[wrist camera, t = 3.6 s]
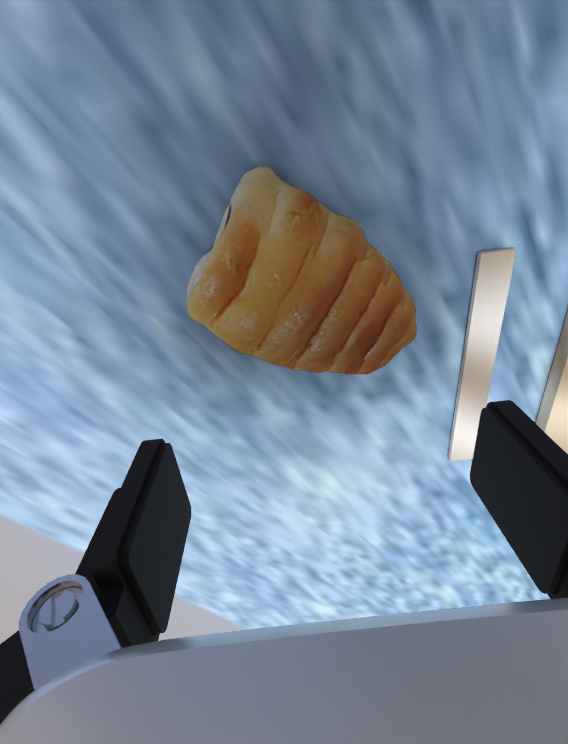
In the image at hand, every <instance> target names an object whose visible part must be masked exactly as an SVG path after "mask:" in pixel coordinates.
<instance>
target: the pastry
mask: <svg viewBox="0 0 568 744" xmlns="http://www.w3.org/2000/svg"><path fill="white" fill-rule="evenodd" d="M186 296H187V312H188V316H189V317H190V318H191V319H192V320H194V321H196V322H198V323H201V324H202V325H204V326H205V327H207V328H208V329H209V330H211V332H212V333H213V334H214V335H215V336H217V337H219V338H220V339H222V340H223V341H224V342H225V343H227V344H228V345H229V346H230V347H232V348H233V349H235V350H236V351H237V352H240V353H244V354H247V355H251V356H254V357H258V358H260V359H262V360H264V361H266V362H268V363H271V364H274V365H277V366H284V367H288V368H290V369H293V370H308V371H311V372H316V373H321V372H325V371H327V372H338V373H344V374H369V373H371V372H374V371H376V370H378V369H379V368H381V367H383V366H385V365H386V364H387V363H388V362H389V361H390V360H391V359H392V358H393V357H394V356H396V354H397V353H398V352H399V351H400V350H401V349H402V348H403V347H405V346H407V345H408V344H409V343H411V342H412V341H413V339H414V338H415V336H416V322H415V311H416V310H415V305H414V301H413V299H412V297H411V295H410V294H409V293H408V292H407V290H406V289H405V287H404V286H403V285H402V284H401V280H400V278H399V276H398V275H397V274H396V273H395V272H394V271H393V268H392V266H391V264H390V263H389V262H388V261H387V260H386V259H385V258H384V257H383V256H382V255H381V254H380V253H379V252H378V251H377V250H376V249H374V248H373V247H372V246H370V245H369V243H368V242H367V241H366V239H365V237H364V235H363V233H362V230H361V228H360V227H359V225H358V223H357V222H356V221H354V220H353V219H350V218H348V217H346V216H340V215H336V214H335V213H333V212H332V211H330V210H329V209H328V208H326V207H325V206H324V205H322V204H320V203H318V202H317V200H316V199H315V198H314V197H312V196H311V195H310V194H308V193H307V192H305V191H303V190H301V189H300V188H297V187H293V186H291V185H289V184H288V183H286V182H284V181H282V180H280V179H279V178H278V176H277V175H276V174H275V173H274V172H273V170H271V169H270V168H268V167H256V168H254V169H252V170H250V171H248V172H246V173H245V174H244V175H243V177H242V178H241V180H240V182H239V184H238V186H237V187H236V189H235V191H234V193H233V195H232V197H231V200H230V204H229V205H228V207H227V209H226V211H225V213H224V215H223V218H222V221H221V225H220V227H219V229H218V231H217V235H216V238H215V241H214V245H213V248H212V249H211V250H210V251H209V252H208V253H207V254H205V255H204V256H203V257H202V258H201V259H200V260H199V261H198V263H197V264H196V265H195V268H194V271H193V274H192V276H191V278H190V279H189V282H188V286H187V290H186Z"/></svg>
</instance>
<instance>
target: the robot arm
mask: <svg viewBox="0 0 568 744" xmlns="http://www.w3.org/2000/svg"><path fill="white" fill-rule="evenodd" d="M470 480H471V484H472V486H473V488H474V489H475V491H476V493H477V494H478V496H479V497H480V499H481V500H482V502H483V503H484V505H485V507H486V508H487V510H488V511H489V513H490V514H491V516H492V517H493V519H494V521H495V522H496V524H497V525H498V527H499V528H500V530H501V532H502V533H503V535H504V536H505V538H506V539H507V541H508V542H509V544H510V546H511V547H512V549H513V550H514V552H515V553H516V555H517V556H518V558H519V560H520V561H521V563H522V564H523V566H524V567H525V569H526V570H527V572H528V574H529V575H530V577H531V578H532V580H533V581H534V583H535V585H536V586H537V587H538V589H539V590H540V591H541V592H542V593H544V594H545V593H547V594H548V596H549V597H550V599H548V600H535V601H525V602H514V603H504V604H494V605H483V606H473V607H463V608H452V609H442V610H432V611H422V612H412V613H403V614H393V615H383V616H373V617H364V618H354V619H344V620H335V621H325V622H315V623H306V624H297V625H288V626H279V627H269V628H260V629H251V630H242V631H232V632H224V633H216V634H208V635H200V636H193V637H184V638H176V639H168V640H162V641H158V639H159V634H160V633H164V632H165V631H166V629H167V625H168V621H169V616H170V612H171V607H172V602H173V598H174V593H175V588H176V584H177V579H178V575H179V570H180V565H181V561H182V556H183V551H184V547H185V542H186V537H187V533H188V528H189V524H190V519H191V505H190V502H189V499H188V496H187V493H186V489H185V486H184V483H183V480H182V477H181V474H180V471H179V468H178V465H177V461H176V458H175V455H174V452H173V449H172V446H171V444H170V443H165V441H164V440H163V439H156V440H147V441H143V442H142V443H141V445H140V447H139V449H138V451H137V453H136V456H135V458H134V460H133V462H132V465H131V467H130V469H129V471H128V473H127V476H126V478H125V480H124V482H123V484H122V487H121V488H118V489H116V490H115V491H114V493H113V495H112V497H111V499H110V501H109V503H108V505H107V507H106V509H105V512H104V514H103V516H102V518H101V520H100V522H99V524H98V527H97V529H96V531H95V533H94V535H93V537H92V539H91V541H90V544H89V546H88V548H87V550H86V552H85V554H84V556H83V559H82V561H81V563H80V565H79V567H78V569H77V571H76V573H75V575H67V576H63V577H59V578H57V579H55V580H54V581H51V582H50V583H48V584H47V585H45V586H44V587H43V588H41V589H40V590H39V591H38V592H37V593H36V594H35V595H34V596H33V597H32V598H31V599H30V600H29V602H28V603H27V605H26V606H25V608H24V610H23V611H22V614H21V617H20V620H19V631H17V632H16V633H15V634H14V635H12V636H11V637H9V638H8V639H7V640H6V641H4V642H3V643H1V644H0V744H568V454H567V453H566V452H565V451H564V450H563V449H562V448H561V447H560V446H559V445H558V444H556V443H555V442H554V441H553V440H552V439H551V438H550V437H549V436H548V435H547V434H546V433H545V432H544V431H543V430H542V429H541V428H540V427H539V426H538V425H537V424H536V423H535V422H534V421H532V420H531V419H530V418H529V417H528V416H527V415H526V414H525V413H524V412H523V411H522V410H521V409H520V408H519V407H518V406H517V405H516V404H515V403H514V402H512V401H510V400H506V401H497V402H490V403H488V404H487V406H486V408H483V409H482V410H481V414H480V420H479V426H478V431H477V437H476V443H475V448H474V454H473V460H472V466H471V471H470Z"/></svg>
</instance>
